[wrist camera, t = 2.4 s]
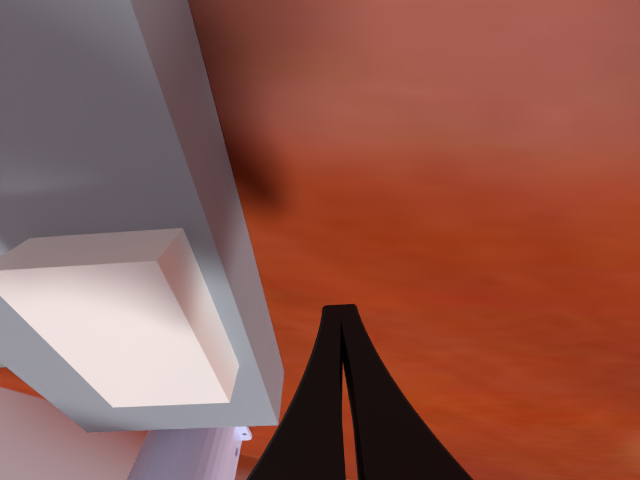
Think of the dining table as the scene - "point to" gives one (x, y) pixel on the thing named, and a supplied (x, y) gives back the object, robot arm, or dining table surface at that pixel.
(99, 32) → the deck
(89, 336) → the pale pink block
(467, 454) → the dining table surface
